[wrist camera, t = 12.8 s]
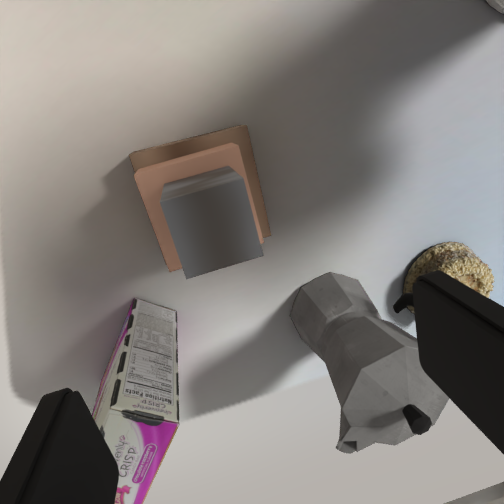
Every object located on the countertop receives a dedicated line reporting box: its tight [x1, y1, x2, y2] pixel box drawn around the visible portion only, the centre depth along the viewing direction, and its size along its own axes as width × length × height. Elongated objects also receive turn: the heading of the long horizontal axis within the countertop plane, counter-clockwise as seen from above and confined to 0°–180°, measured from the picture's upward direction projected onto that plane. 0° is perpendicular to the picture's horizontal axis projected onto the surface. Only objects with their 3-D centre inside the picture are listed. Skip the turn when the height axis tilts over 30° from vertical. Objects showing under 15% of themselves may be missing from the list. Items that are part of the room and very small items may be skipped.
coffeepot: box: [290, 272, 449, 453], centre depth 35 cm, size 15×9×18 cm, turn 138°
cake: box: [403, 242, 494, 314], centre depth 42 cm, size 10×10×5 cm
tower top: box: [134, 142, 264, 272], centre depth 31 cm, size 8×8×4 cm
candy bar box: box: [92, 298, 179, 504], centre depth 33 cm, size 11×5×16 cm, turn 156°
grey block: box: [160, 166, 263, 279], centre depth 26 cm, size 5×5×7 cm
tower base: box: [129, 125, 271, 265], centre depth 35 cm, size 10×10×4 cm
